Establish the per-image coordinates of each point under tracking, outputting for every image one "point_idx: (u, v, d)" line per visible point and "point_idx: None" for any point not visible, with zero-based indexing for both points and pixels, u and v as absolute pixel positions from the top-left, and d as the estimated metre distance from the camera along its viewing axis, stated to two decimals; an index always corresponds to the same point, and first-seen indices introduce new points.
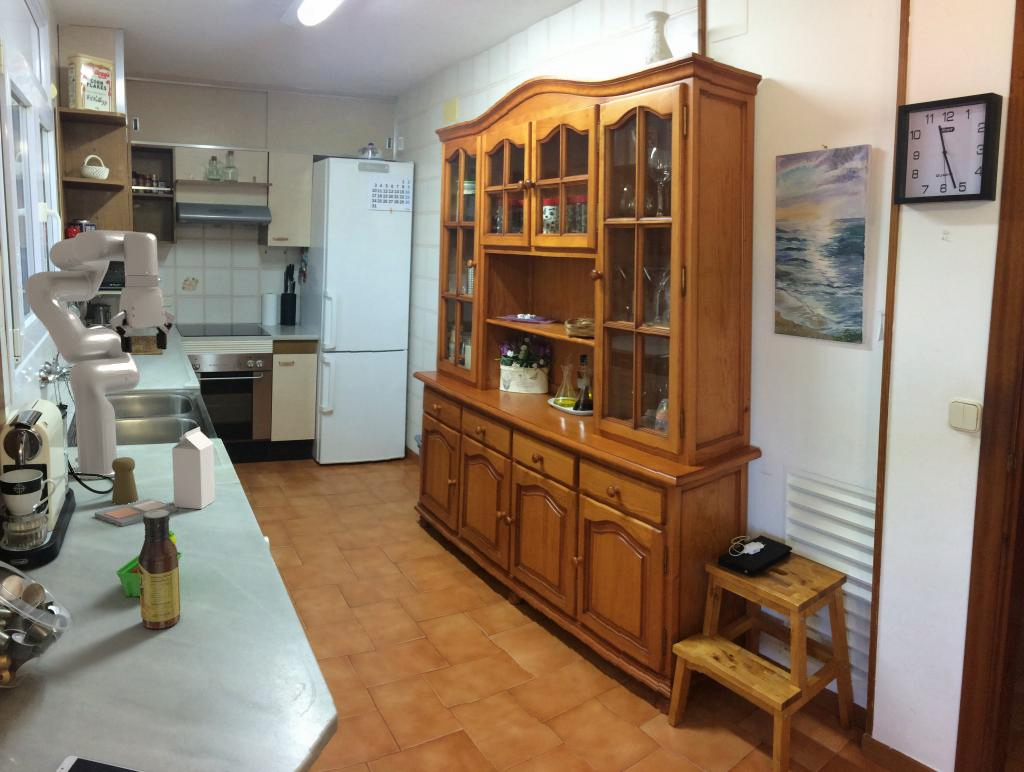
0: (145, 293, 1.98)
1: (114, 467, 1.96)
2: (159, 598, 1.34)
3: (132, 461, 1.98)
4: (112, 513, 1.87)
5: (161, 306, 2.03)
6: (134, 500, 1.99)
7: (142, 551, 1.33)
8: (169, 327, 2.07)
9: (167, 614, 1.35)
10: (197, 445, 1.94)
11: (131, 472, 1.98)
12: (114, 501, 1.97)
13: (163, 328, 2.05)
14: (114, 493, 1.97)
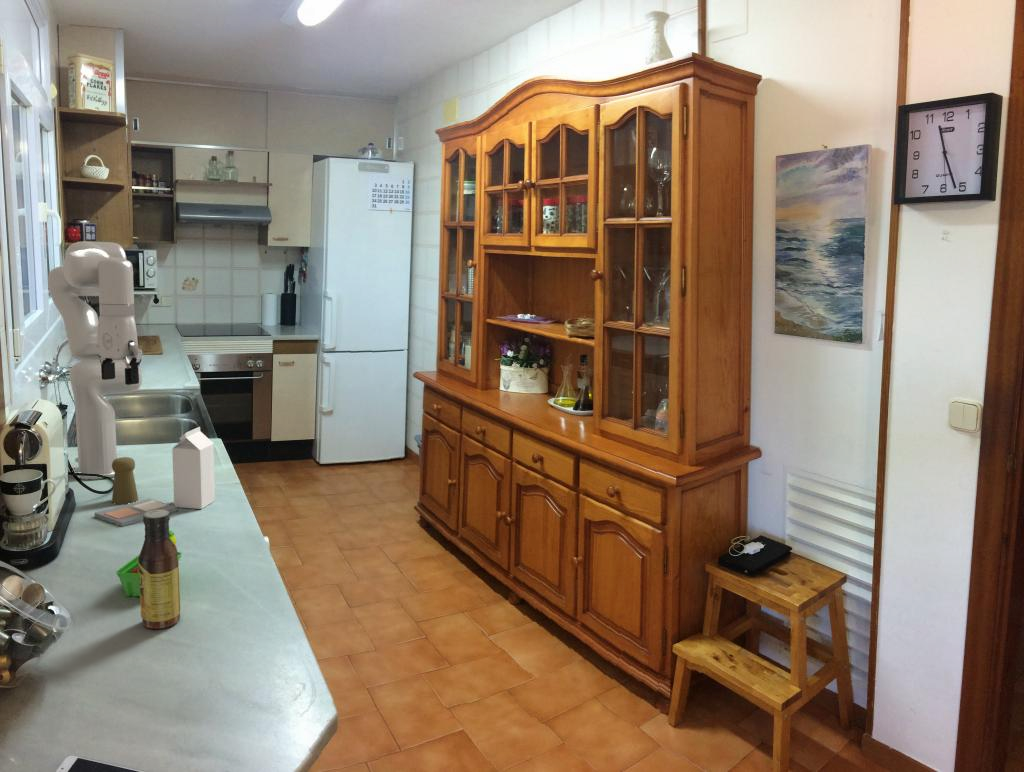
0: None
1: (114, 467, 1.96)
2: (159, 598, 1.34)
3: (132, 461, 1.98)
4: (112, 513, 1.87)
5: None
6: (134, 500, 1.99)
7: (142, 551, 1.33)
8: None
9: (167, 614, 1.35)
10: (197, 445, 1.94)
11: (131, 472, 1.98)
12: (114, 501, 1.97)
13: None
14: (114, 493, 1.97)
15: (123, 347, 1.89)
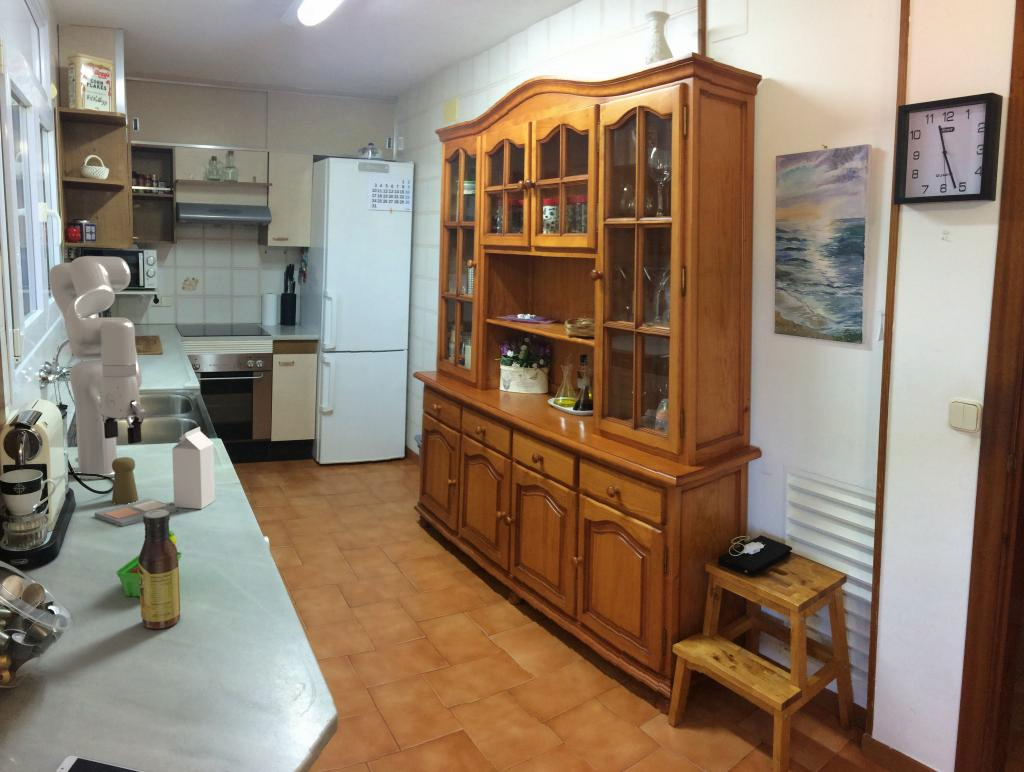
0: None
1: (114, 467, 1.96)
2: (159, 598, 1.34)
3: (132, 461, 1.98)
4: (112, 513, 1.87)
5: None
6: (134, 500, 1.99)
7: (142, 551, 1.33)
8: None
9: (167, 614, 1.35)
10: (197, 445, 1.94)
11: (131, 472, 1.98)
12: (114, 501, 1.97)
13: None
14: (114, 493, 1.97)
15: (125, 407, 1.91)
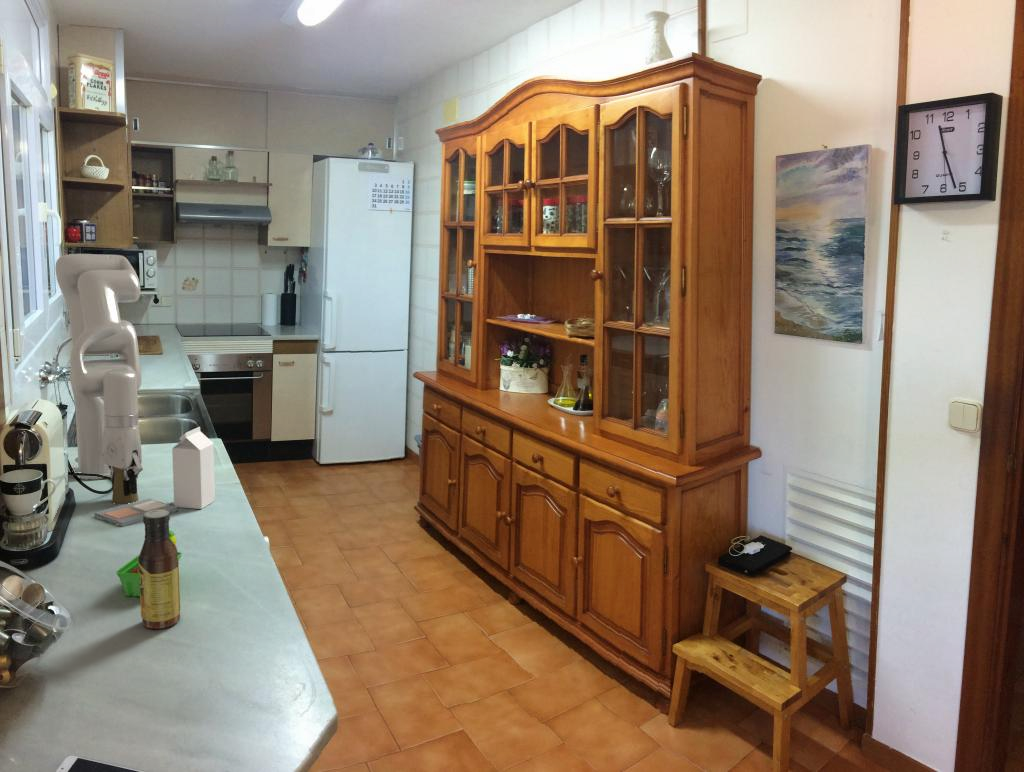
0: None
1: (114, 467, 1.96)
2: (159, 598, 1.34)
3: None
4: (112, 513, 1.87)
5: None
6: (134, 500, 1.99)
7: (142, 551, 1.33)
8: None
9: (167, 614, 1.35)
10: (197, 445, 1.94)
11: None
12: (114, 501, 1.97)
13: None
14: (114, 493, 1.97)
15: (127, 457, 1.94)
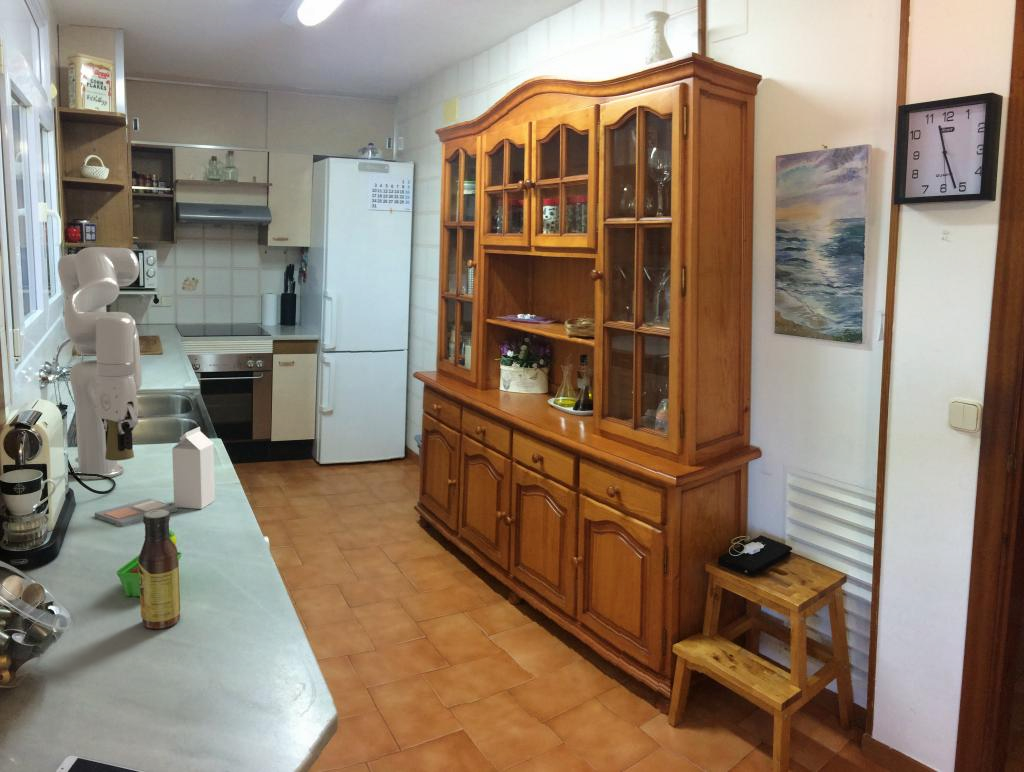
0: None
1: (108, 420, 1.82)
2: (159, 598, 1.34)
3: None
4: (112, 513, 1.87)
5: None
6: (129, 456, 1.85)
7: (142, 551, 1.33)
8: None
9: (167, 614, 1.35)
10: (197, 445, 1.94)
11: None
12: (108, 457, 1.83)
13: None
14: (108, 448, 1.83)
15: (122, 409, 1.79)
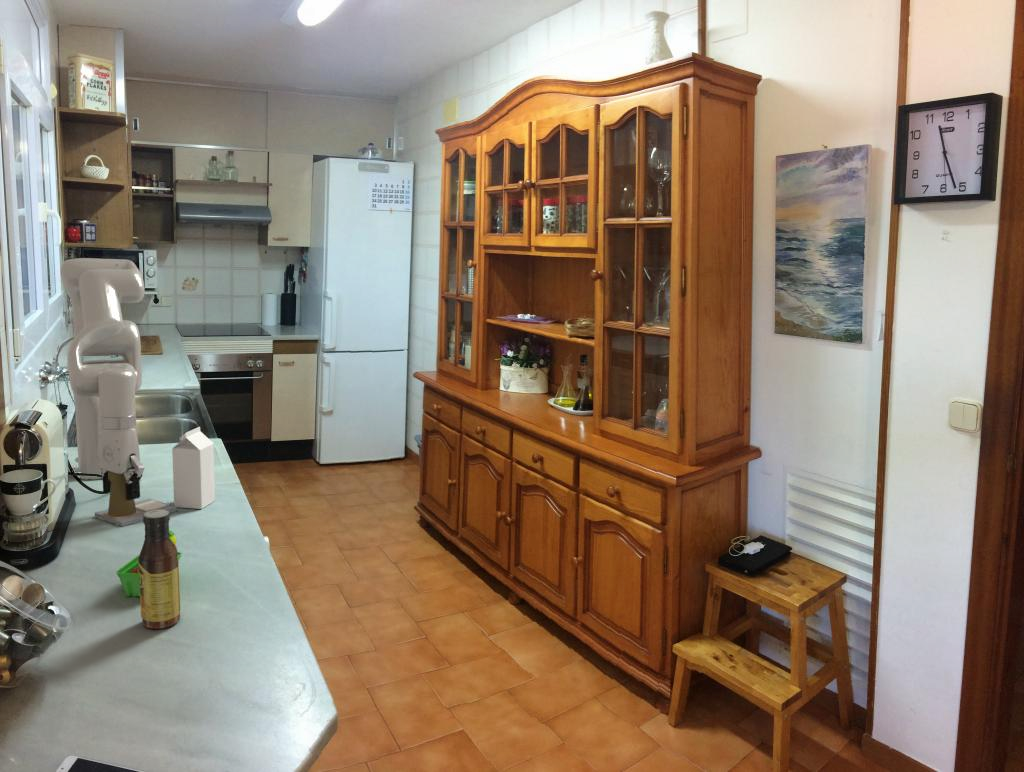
0: None
1: (110, 477, 1.84)
2: (159, 598, 1.34)
3: None
4: None
5: None
6: (132, 512, 1.87)
7: (142, 551, 1.33)
8: None
9: (167, 614, 1.35)
10: (197, 445, 1.94)
11: None
12: (110, 513, 1.85)
13: None
14: (111, 504, 1.85)
15: (124, 461, 1.81)
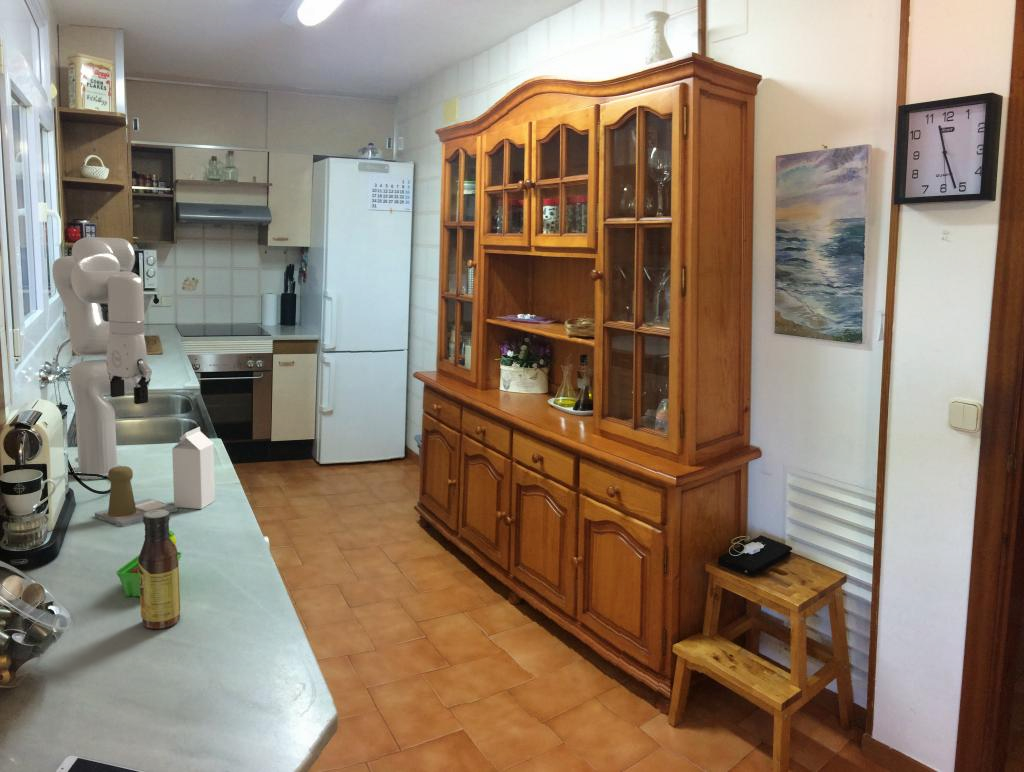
0: None
1: (110, 477, 1.84)
2: (159, 598, 1.34)
3: (129, 470, 1.86)
4: None
5: None
6: (132, 512, 1.87)
7: (142, 551, 1.33)
8: None
9: (167, 614, 1.35)
10: (197, 445, 1.94)
11: (128, 482, 1.86)
12: (110, 513, 1.85)
13: None
14: (111, 504, 1.85)
15: (132, 366, 1.84)
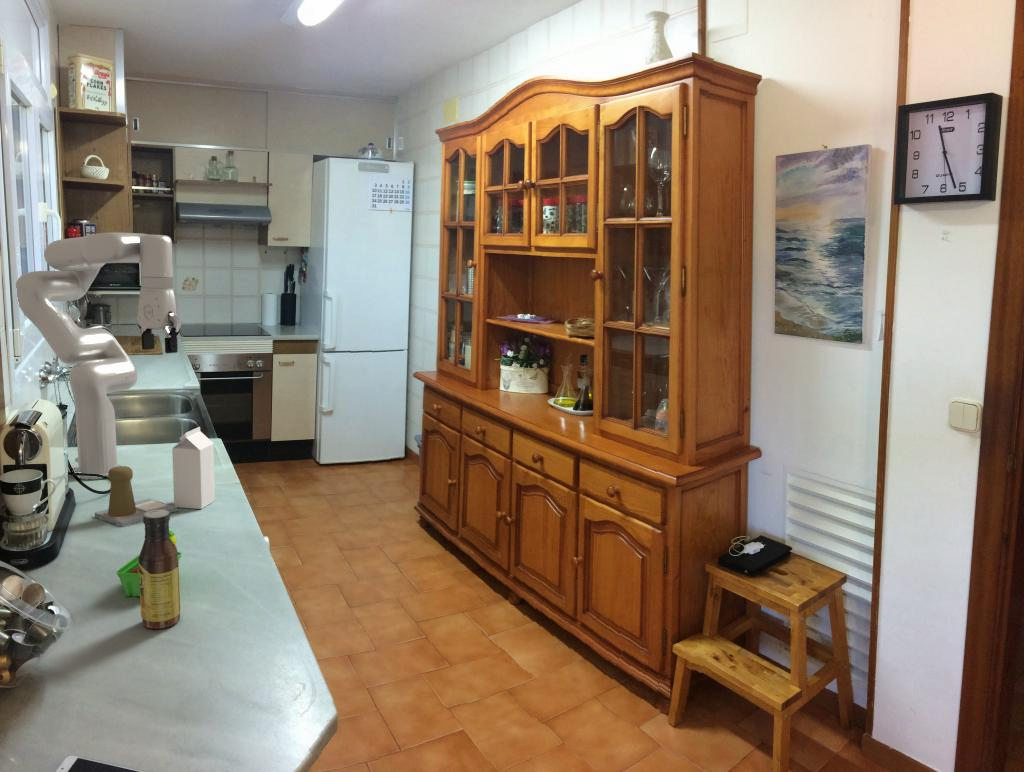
0: None
1: (110, 477, 1.84)
2: (159, 598, 1.34)
3: (129, 470, 1.86)
4: None
5: None
6: (132, 512, 1.87)
7: (142, 551, 1.33)
8: None
9: (167, 614, 1.35)
10: (197, 445, 1.94)
11: (128, 482, 1.86)
12: (110, 513, 1.85)
13: None
14: (111, 504, 1.85)
15: (163, 317, 2.01)
